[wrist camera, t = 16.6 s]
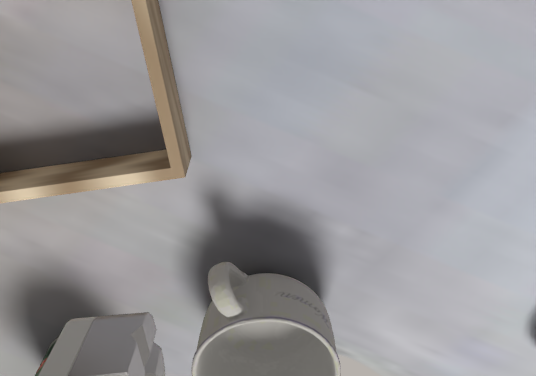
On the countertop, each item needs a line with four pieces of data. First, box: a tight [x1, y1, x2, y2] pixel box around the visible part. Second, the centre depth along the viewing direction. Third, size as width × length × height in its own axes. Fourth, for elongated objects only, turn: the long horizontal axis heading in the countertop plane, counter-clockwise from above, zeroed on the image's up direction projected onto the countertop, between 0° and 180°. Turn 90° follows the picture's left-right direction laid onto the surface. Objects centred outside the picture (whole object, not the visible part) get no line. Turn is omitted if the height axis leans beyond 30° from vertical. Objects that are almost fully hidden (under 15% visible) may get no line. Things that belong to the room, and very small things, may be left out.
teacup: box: [192, 262, 341, 376], centre depth 39 cm, size 14×11×8 cm
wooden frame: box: [0, 0, 191, 203], centre depth 33 cm, size 16×14×4 cm
